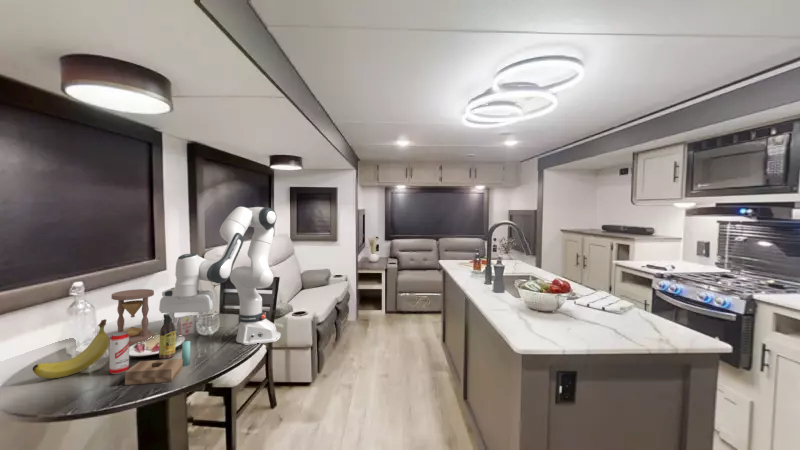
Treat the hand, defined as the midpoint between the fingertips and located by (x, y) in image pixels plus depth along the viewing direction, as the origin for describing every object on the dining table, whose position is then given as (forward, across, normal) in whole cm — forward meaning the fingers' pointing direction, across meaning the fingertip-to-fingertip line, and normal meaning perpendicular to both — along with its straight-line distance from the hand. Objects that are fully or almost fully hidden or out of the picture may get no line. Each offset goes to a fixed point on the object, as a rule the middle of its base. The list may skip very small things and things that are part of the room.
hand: (186, 322), depth 147 cm
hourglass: (+19, +40, -38) cm, 58 cm away
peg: (+19, 0, 0) cm, 19 cm away
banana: (+19, +41, +2) cm, 45 cm away
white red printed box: (+19, +17, -43) cm, 50 cm away
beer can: (+19, +24, +3) cm, 31 cm away
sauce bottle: (+19, +12, -11) cm, 25 cm away
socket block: (+19, +7, +11) cm, 23 cm away
